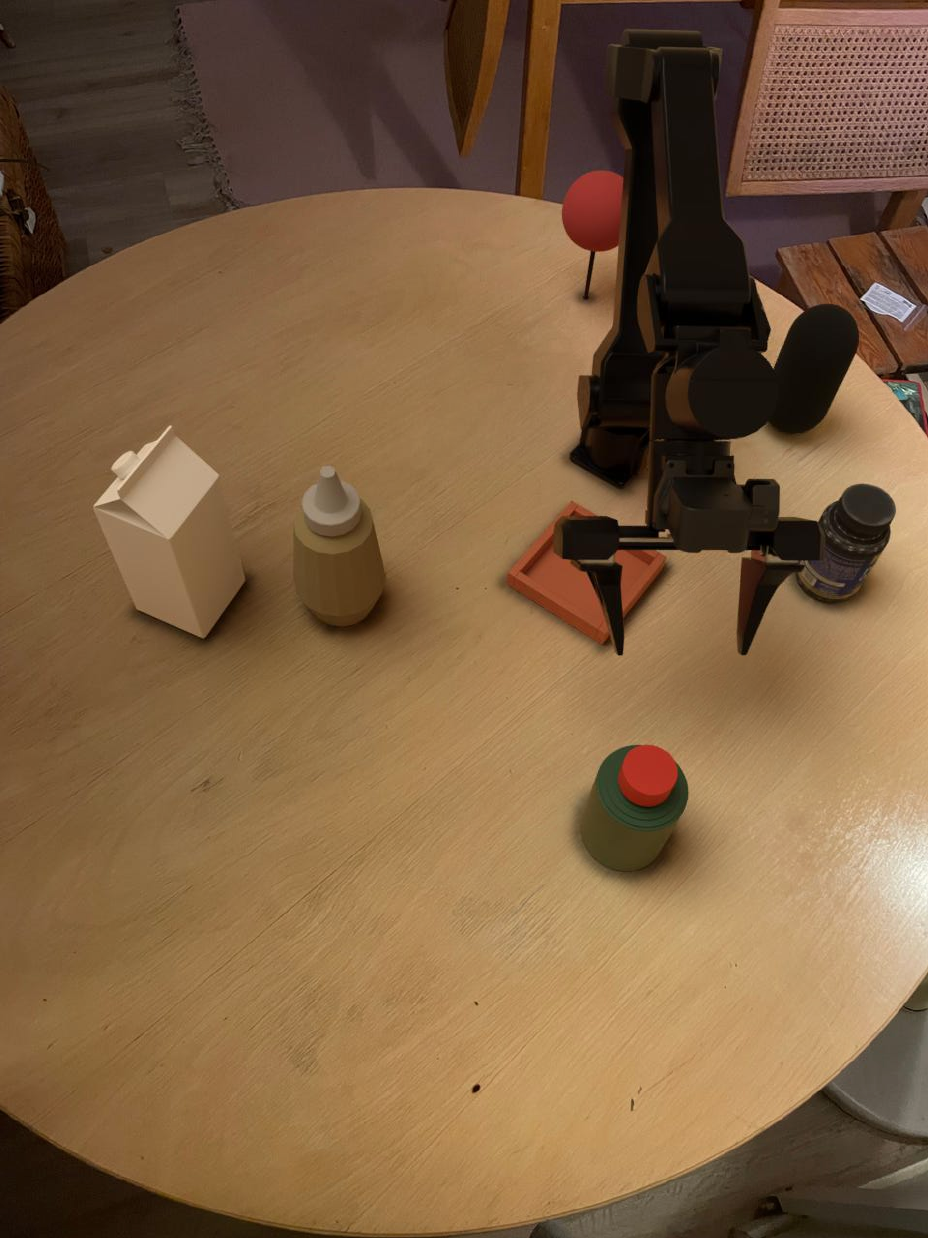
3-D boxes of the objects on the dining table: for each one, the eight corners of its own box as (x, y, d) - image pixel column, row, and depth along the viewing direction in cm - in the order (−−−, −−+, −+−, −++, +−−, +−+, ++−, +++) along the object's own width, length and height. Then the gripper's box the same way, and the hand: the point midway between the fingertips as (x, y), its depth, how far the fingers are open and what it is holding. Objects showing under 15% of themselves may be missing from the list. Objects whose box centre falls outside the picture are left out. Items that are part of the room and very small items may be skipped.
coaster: (506, 583, 96) (507, 572, 94) (569, 512, 101) (572, 500, 99) (602, 644, 93) (605, 633, 91) (663, 568, 97) (667, 556, 96)
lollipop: (630, 290, 118) (655, 172, 105) (599, 329, 114) (622, 212, 102) (571, 265, 120) (589, 146, 107) (539, 303, 116) (553, 184, 103)
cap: (607, 785, 75) (611, 773, 73) (635, 746, 77) (640, 734, 75) (653, 817, 74) (659, 805, 72) (681, 777, 75) (688, 765, 74)
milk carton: (246, 580, 95) (211, 441, 79) (204, 640, 91) (158, 507, 75) (180, 552, 96) (132, 409, 80) (136, 610, 93) (76, 473, 77)
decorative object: (817, 453, 106) (872, 341, 93) (753, 443, 106) (799, 331, 94) (817, 406, 109) (869, 293, 97) (754, 397, 110) (798, 282, 97)
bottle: (563, 837, 83) (583, 780, 73) (609, 775, 86) (633, 712, 76) (635, 888, 81) (665, 836, 71) (679, 823, 84) (714, 764, 74)
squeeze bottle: (399, 578, 96) (396, 448, 80) (367, 649, 92) (356, 526, 76) (319, 553, 97) (300, 420, 82) (283, 622, 93) (256, 495, 78)
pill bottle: (858, 610, 96) (906, 539, 86) (792, 597, 96) (832, 526, 87) (858, 557, 99) (904, 483, 90) (794, 545, 99) (833, 470, 90)
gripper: (577, 438, 66) (571, 678, 68) (865, 441, 67) (848, 678, 69) (554, 440, 77) (550, 647, 79) (802, 442, 78) (790, 646, 80)
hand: (680, 654), depth 77 cm, fingers open, 9 cm apart
